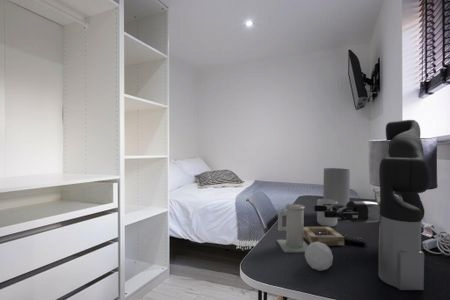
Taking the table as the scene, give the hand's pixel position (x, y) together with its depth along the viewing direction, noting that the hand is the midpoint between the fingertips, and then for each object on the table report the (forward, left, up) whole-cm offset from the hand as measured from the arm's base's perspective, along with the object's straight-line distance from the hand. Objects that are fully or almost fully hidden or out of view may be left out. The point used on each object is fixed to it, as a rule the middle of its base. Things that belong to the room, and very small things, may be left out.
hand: (319, 211), depth 88 cm
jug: (0, +10, -12) cm, 16 cm away
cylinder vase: (+39, -26, -13) cm, 49 cm away
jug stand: (+7, -4, -13) cm, 15 cm away
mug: (+27, -16, -13) cm, 34 cm away
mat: (0, +9, -13) cm, 16 cm away
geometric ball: (-16, +7, -13) cm, 22 cm away
